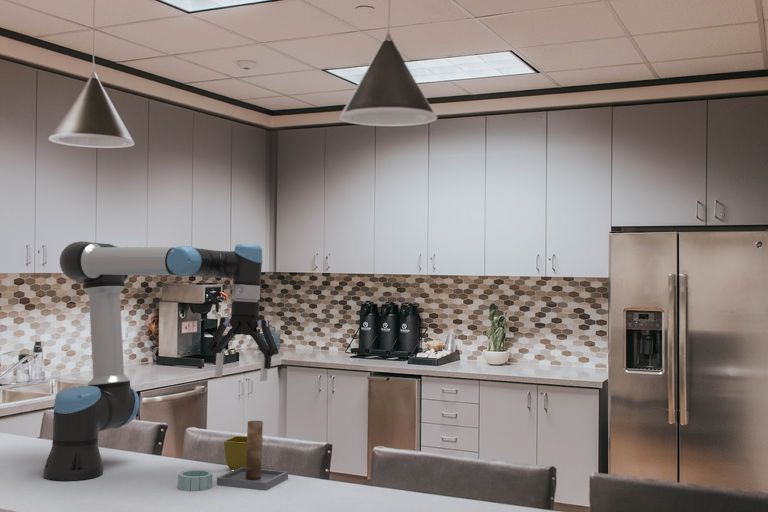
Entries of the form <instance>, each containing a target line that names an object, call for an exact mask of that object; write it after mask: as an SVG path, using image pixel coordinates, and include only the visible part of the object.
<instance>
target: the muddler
mask: <svg viewBox="0 0 768 512" xmlns="http://www.w3.org/2000/svg"><path fill="white" fill-rule="evenodd" d="M263 425H264V422H263V421H262V420H248V421H247V431H246V432H247V433H246V437H247V455H246V479H247V480H259V479H261V469H262V457H263V456H262V455H263V454H262V452H263V441H262V438H263V428H264V426H263Z"/></svg>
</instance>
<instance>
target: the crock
mask: <svg viewBox="0 0 768 512" xmlns="http://www.w3.org/2000/svg"><path fill="white" fill-rule="evenodd" d="M213 476H214V475H213V472H212V471H210V470H203V469H189V470H184V471H180V472H179V473H178V482H177V489H178V490H180V491H183V492H184V491H185V492H202V491H208V490H211V489H212V488H213Z"/></svg>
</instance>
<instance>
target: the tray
mask: <svg viewBox="0 0 768 512" xmlns="http://www.w3.org/2000/svg"><path fill="white" fill-rule="evenodd" d="M288 479H289V472H288V471H284V470H275V469H274V470H273V469H263V468H261V479H259V480H247V479H246V468H245V467H241V468H239V469H236V470H234V471H229V472H227V473H225V474H223V475H220V476H218V477H216V486H220V487H229V488H237V489H238V488H239V489H248V490H249V489H250V490H257V491H268V490H270V489H272V488H274V487H275V486H277V485H279V484H281V483H283V482H285V481H287V480H288Z"/></svg>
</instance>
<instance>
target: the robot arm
mask: <svg viewBox="0 0 768 512" xmlns="http://www.w3.org/2000/svg"><path fill="white" fill-rule="evenodd" d="M59 267H60V270H61V271H62V272H63V275H65V277H66V278H68V279H70V280H72V281H74V282H81V283H82V291H83V292H84V293H86V294H87V295H88V297H89V298H88V302H89V321H90V322H89V324H90V339H91V340H90V341H91V358H92V359H91V361H92V376H93V377H92V379H91V380H90V381H89V382H88V383H87V385H80V386H79V385H78V386H72V387H67V388H64V389H62V390H60V391H59V392H57V393H56V395H55V398H54V404H53V419H52V421H53V422H52V423H53V424H52V441H51V442H52V444H51V449H50V452H49V454H48V457H47V460H46V463H45V465H44V467H43V477H44V478H45V479H47V480H53V481H80V480H81V481H82V480H89V479H94V478H97V477H100V476H102V475H103V473H104V464H103V461H102V456H101V452H100V448H99V432H102V431H105V430H110V429H118V428H121V427H124V426H126V425H128V424H130V423H131V422H132V421H133V420H134V419H135V417H136V416H137V414H138V412H139V408H140V397H139V395H138V392H136V390H135V389H134V388H133V387H131V379H130V378H128V377H127V376H126V374H125V369H124V368H125V366H124V365H125V364H124V363H125V362H124V347H123V331H122V330H123V329H122V313H121V312H122V310H121V294H122V292H123V290H124V289H126V287H125V286H126V285H125V284H126V283H125V282H126V281H127V280H128V279H129V276H177V277H178V276H181V277H183V276H184V277H185V276H186V277H201V278H206V279H207V278H208V279H211V278H216V279H232V292H231V293H232V296H231V299H233V301H232V302H231V309H230V313H231V315H230V318H229V317H227V316H221V317H220V318H219V323H218V326H217V328H216V330H215V332H214V334H213V336H212V337H211V340H210V341H209V343H208V345H207V350H209V351H211V352H213V358H212V359H213V365H215V370H214V372H215V373H214V377H215V378H219V377H221V378H222V377H223V374H224V371H223V369H224V356H225V355H224V352H222V351H223V350H224V349H225V347H226V346H227V345H228V344H229V343H230V342H231V341H232V339H234V337H235V336H236V335H237V336H238V335H239V336H240V335H243V336H250V337H251V338H253V340H254V342H255V344H256V346H258V348H259V350H260V351H261V353H262V354H263V356H261V358H260V359H261V361H260V378H259V381H260V382H265V381H267V380H268V370H270V369H271V367H272V357H273V356H276V355H278V354H279V350H278V347H277V343H276V341H275V339H274V337H273V334H272V331H271V329H270V320H269V319H262V320H259V314H260V302H259V301H260V299H261V279H262V278H261V277H262V267H263V248H262V246H260V245H259V244H248V243H247V244H246V243H243V244H242V243H239V244H236V245H235V246H234V250H232V251H226V250H213V249H206V248H197V247H192V246H186V245H185V246H184V245H183V246H182V245H181V246H175V247H173V246H170V247H168V246H166V247H161V246H160V247H155V246H153V247H152V246H151V247H149V246H147V247H146V246H145V247H140V246H139V247H138V246H137V247H135V246H134V247H133V246H132V247H128V246H125V247H122V246H121V247H120V246H117V245H113V244H111V243H99V242H89V241H82V240H81V241H74V242H72V243H69V244H68V245H67V246H65V248H64V249H62V251H61V254H60V256H59ZM228 325H230V326H231V327H230V328H229V330H228V331H227V333H226V334H225V335H224V333H225V331H226V329H227V327H228ZM258 327H260V328H261V331H262V334H263V337H264V339H265V340H264V339H263V337H262V336H261V333H260V332H259V330H258V329H257V328H258ZM223 335H224V337H222V336H223Z"/></svg>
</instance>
